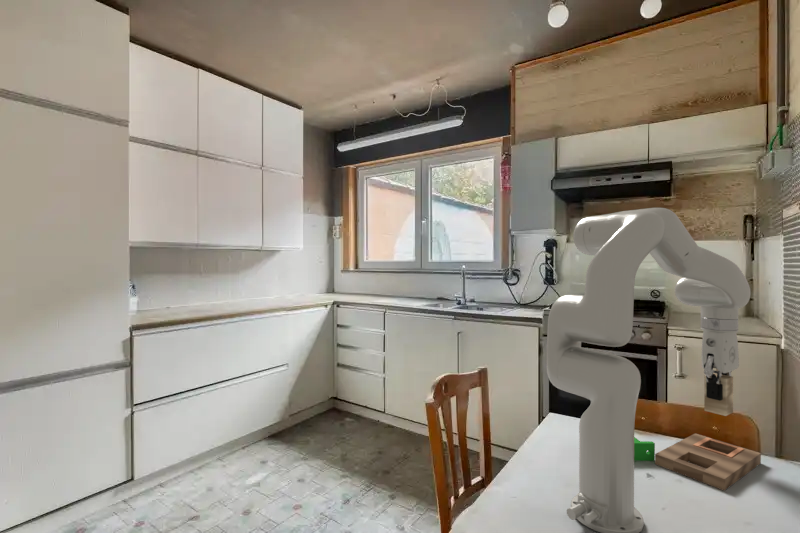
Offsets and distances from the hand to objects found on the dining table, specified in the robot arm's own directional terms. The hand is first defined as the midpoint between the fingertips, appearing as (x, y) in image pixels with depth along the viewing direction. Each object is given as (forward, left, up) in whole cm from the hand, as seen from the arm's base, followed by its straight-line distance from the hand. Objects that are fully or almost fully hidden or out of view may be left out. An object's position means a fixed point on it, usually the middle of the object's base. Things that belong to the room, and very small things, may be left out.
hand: (718, 396), depth 104 cm
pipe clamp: (-19, +13, -16) cm, 28 cm away
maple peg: (0, 0, -4) cm, 4 cm away
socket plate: (-6, 0, -15) cm, 17 cm away
